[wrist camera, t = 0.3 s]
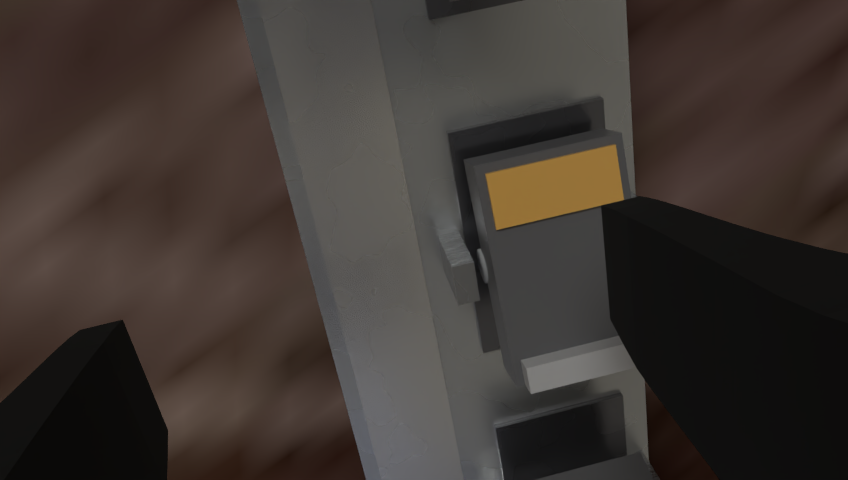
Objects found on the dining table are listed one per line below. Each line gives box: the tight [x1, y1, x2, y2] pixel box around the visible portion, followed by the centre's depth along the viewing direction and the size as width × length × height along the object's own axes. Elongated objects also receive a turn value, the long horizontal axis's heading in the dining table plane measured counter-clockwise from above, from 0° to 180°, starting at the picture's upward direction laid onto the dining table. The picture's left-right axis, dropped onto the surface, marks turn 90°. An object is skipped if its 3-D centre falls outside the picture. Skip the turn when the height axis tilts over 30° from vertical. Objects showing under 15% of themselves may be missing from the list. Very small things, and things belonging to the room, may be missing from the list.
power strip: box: [237, 0, 660, 480], centre depth 20 cm, size 26×8×5 cm, turn 10°
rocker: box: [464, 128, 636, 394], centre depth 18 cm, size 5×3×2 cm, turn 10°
